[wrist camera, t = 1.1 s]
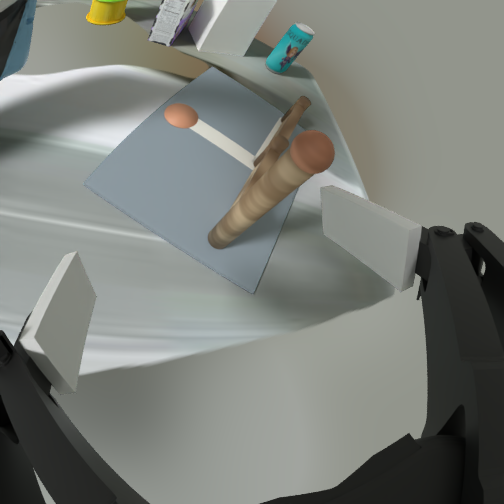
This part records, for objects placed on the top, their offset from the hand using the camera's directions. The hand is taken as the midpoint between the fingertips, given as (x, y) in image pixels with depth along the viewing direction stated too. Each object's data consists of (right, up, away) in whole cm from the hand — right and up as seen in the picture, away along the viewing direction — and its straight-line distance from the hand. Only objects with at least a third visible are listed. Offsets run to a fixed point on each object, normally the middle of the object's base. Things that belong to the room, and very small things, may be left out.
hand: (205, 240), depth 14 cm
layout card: (-2, +16, +31) cm, 35 cm away
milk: (-7, +51, +42) cm, 66 cm away
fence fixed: (+6, +20, +36) cm, 42 cm away
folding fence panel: (0, +6, +28) cm, 29 cm away
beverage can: (+8, +46, +47) cm, 66 cm away
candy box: (-18, +51, +36) cm, 65 cm away
